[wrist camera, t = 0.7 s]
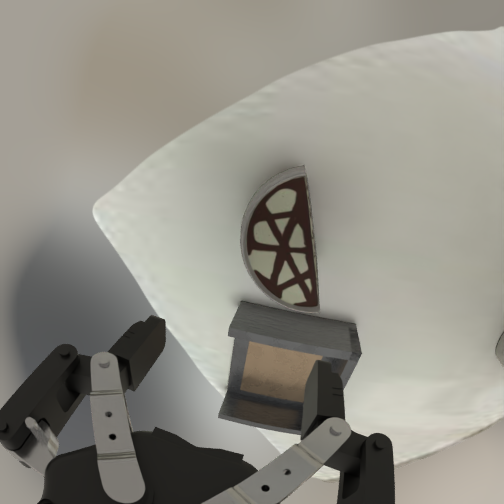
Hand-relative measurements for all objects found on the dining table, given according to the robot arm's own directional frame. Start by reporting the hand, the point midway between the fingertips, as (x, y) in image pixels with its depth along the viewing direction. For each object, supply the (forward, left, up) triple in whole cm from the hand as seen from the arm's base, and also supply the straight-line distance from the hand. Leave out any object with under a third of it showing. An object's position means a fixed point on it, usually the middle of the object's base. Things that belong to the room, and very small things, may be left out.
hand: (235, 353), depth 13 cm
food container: (0, -2, -20) cm, 20 cm away
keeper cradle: (-4, +18, -19) cm, 27 cm away
